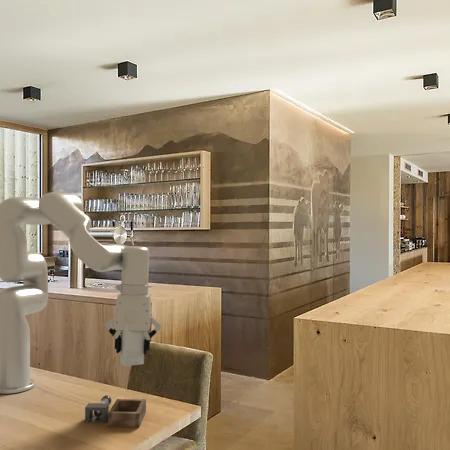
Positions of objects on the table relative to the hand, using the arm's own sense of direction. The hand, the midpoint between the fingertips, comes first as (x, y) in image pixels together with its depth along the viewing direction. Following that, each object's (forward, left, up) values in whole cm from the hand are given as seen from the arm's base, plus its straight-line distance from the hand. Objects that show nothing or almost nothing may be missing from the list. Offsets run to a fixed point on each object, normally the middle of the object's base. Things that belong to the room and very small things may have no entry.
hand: (132, 351), depth 135 cm
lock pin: (-7, -4, -15) cm, 17 cm away
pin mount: (-7, -10, -15) cm, 20 cm away
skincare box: (0, 0, -4) cm, 4 cm away
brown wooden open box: (+1, -9, -15) cm, 18 cm away
